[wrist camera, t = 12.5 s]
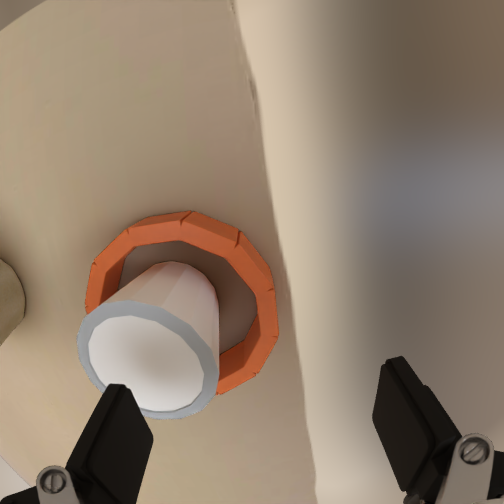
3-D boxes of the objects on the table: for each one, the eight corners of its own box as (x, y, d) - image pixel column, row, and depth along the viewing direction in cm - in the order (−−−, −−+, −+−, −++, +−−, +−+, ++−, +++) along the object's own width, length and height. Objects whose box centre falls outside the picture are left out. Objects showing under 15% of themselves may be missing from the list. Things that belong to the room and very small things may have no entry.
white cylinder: (140, 234, 17) (83, 274, 11) (245, 276, 18) (243, 340, 11) (117, 324, 19) (72, 386, 12) (208, 360, 20) (194, 436, 13)
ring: (262, 200, 17) (265, 208, 14) (279, 361, 20) (284, 389, 17) (89, 227, 17) (65, 239, 14) (133, 370, 20) (120, 395, 17)
